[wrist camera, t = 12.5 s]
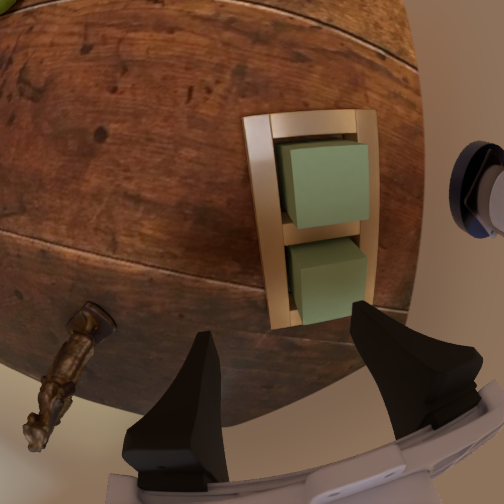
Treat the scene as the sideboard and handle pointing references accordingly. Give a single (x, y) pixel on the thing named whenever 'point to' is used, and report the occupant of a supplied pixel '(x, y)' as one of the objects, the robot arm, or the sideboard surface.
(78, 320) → the figurine
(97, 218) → the sideboard surface
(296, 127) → the backing frame
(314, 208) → the green cubic block
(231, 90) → the sideboard surface
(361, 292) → the olive green cubic block
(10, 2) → the snail figurine
